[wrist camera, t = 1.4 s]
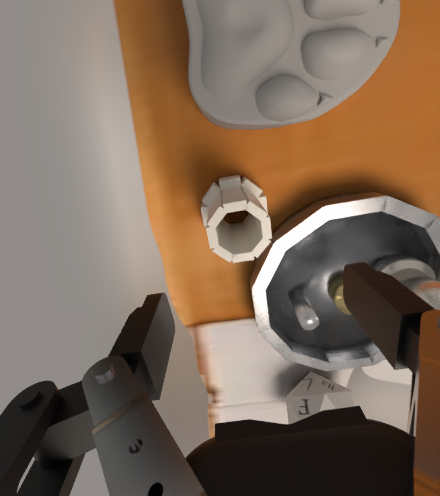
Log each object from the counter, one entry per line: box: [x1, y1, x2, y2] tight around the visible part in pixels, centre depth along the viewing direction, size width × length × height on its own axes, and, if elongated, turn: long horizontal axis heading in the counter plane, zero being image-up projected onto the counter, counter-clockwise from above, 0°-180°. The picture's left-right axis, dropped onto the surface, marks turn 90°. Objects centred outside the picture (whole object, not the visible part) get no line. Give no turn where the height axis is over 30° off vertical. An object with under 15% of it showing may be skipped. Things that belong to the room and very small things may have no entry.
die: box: [286, 371, 354, 424], centre depth 33 cm, size 8×9×10 cm
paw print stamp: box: [182, 0, 400, 130], centre depth 18 cm, size 10×13×9 cm
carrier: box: [250, 192, 440, 371], centre depth 26 cm, size 21×21×9 cm
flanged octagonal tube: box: [201, 175, 272, 263], centre depth 23 cm, size 6×6×8 cm
